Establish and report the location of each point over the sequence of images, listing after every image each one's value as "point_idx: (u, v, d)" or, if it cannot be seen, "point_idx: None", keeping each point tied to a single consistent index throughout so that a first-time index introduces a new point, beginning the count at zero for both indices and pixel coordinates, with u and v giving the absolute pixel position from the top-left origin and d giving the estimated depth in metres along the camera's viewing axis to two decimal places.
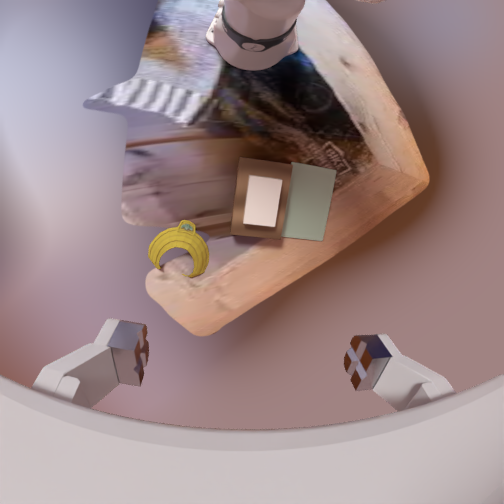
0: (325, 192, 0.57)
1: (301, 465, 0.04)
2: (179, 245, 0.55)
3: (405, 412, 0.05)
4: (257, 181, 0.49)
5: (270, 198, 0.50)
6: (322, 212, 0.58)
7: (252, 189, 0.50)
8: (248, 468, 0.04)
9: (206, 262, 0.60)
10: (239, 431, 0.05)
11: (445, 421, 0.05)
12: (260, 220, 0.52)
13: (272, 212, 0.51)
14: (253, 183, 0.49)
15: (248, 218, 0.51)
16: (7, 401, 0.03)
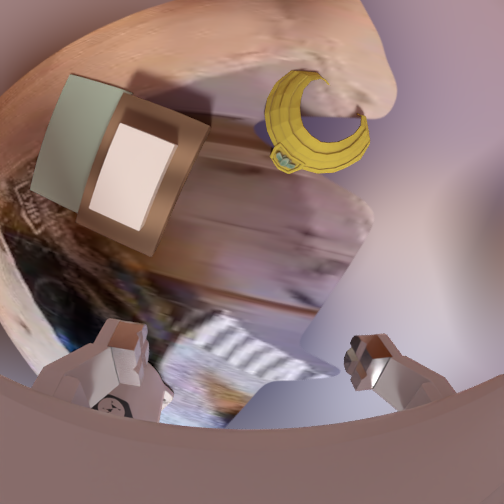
0: (47, 156, 0.26)
1: (301, 465, 0.04)
2: (312, 140, 0.27)
3: (405, 412, 0.05)
4: (128, 217, 0.25)
5: (113, 180, 0.23)
6: (57, 124, 0.25)
7: (139, 205, 0.25)
8: (248, 468, 0.04)
9: (278, 85, 0.27)
10: (239, 431, 0.05)
11: (445, 421, 0.05)
12: (141, 141, 0.23)
13: (116, 152, 0.23)
14: (135, 215, 0.25)
15: (162, 151, 0.23)
16: (7, 401, 0.03)
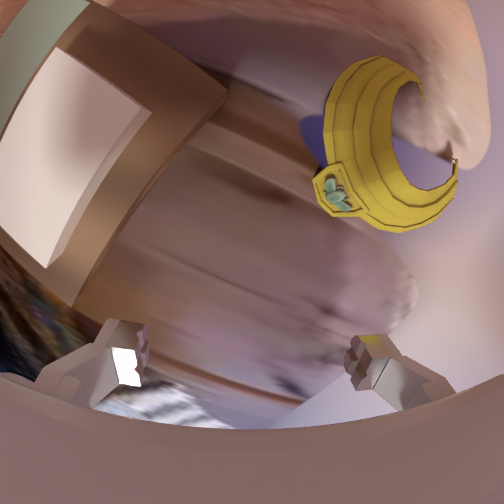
0: None
1: (301, 465, 0.04)
2: (397, 176, 0.14)
3: (405, 412, 0.05)
4: (30, 238, 0.10)
5: (16, 159, 0.09)
6: (1, 51, 0.09)
7: (50, 221, 0.10)
8: (248, 468, 0.04)
9: (358, 68, 0.14)
10: (239, 431, 0.05)
11: (445, 421, 0.05)
12: (78, 89, 0.08)
13: (32, 104, 0.08)
14: (42, 239, 0.10)
15: (111, 118, 0.09)
16: (7, 401, 0.03)
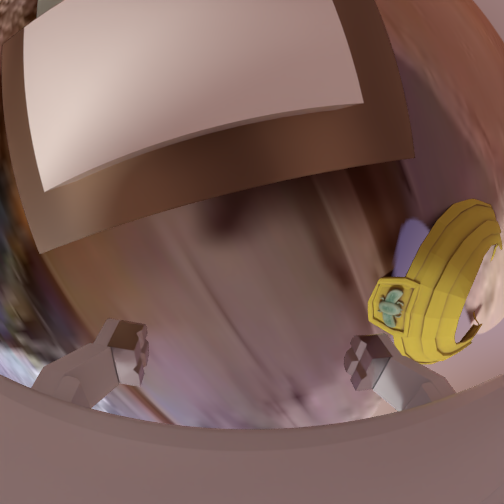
0: None
1: (301, 465, 0.04)
2: (451, 323, 0.13)
3: (405, 412, 0.05)
4: (53, 130, 0.05)
5: (128, 5, 0.04)
6: None
7: (104, 130, 0.06)
8: (248, 468, 0.04)
9: (473, 206, 0.14)
10: (239, 431, 0.05)
11: (445, 421, 0.05)
12: (301, 3, 0.05)
13: None
14: (70, 145, 0.06)
15: (319, 75, 0.06)
16: (7, 401, 0.03)
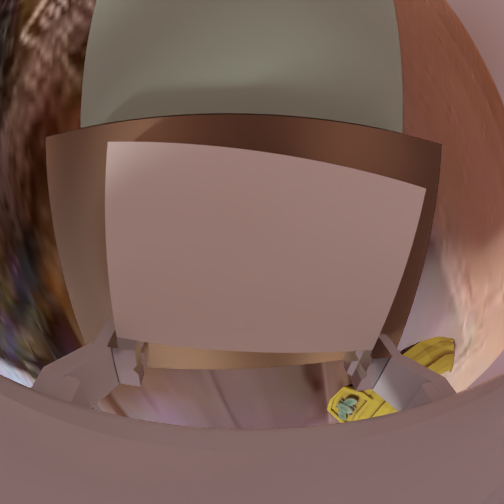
0: None
1: (301, 465, 0.04)
2: None
3: (405, 412, 0.05)
4: (137, 302, 0.08)
5: (244, 217, 0.07)
6: None
7: (189, 327, 0.08)
8: (248, 468, 0.04)
9: (437, 343, 0.18)
10: (239, 431, 0.05)
11: (445, 421, 0.05)
12: (380, 273, 0.08)
13: (345, 200, 0.07)
14: (153, 322, 0.08)
15: (355, 333, 0.09)
16: (7, 401, 0.03)
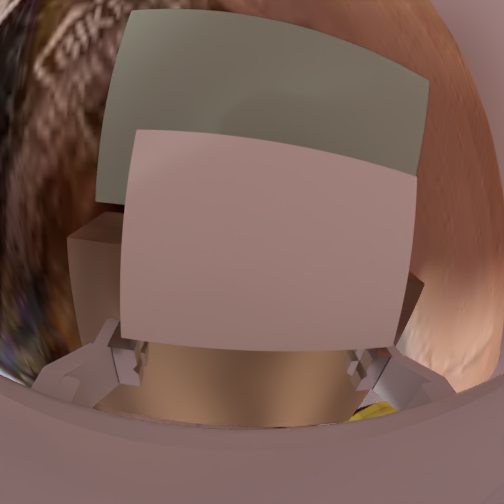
0: (230, 40, 0.10)
1: (301, 465, 0.04)
2: None
3: (405, 412, 0.05)
4: (149, 292, 0.07)
5: (261, 199, 0.07)
6: (322, 58, 0.10)
7: (203, 321, 0.08)
8: (248, 468, 0.04)
9: None
10: (239, 431, 0.05)
11: (445, 421, 0.05)
12: (389, 258, 0.08)
13: (349, 186, 0.08)
14: (164, 316, 0.07)
15: (374, 326, 0.08)
16: (7, 401, 0.03)
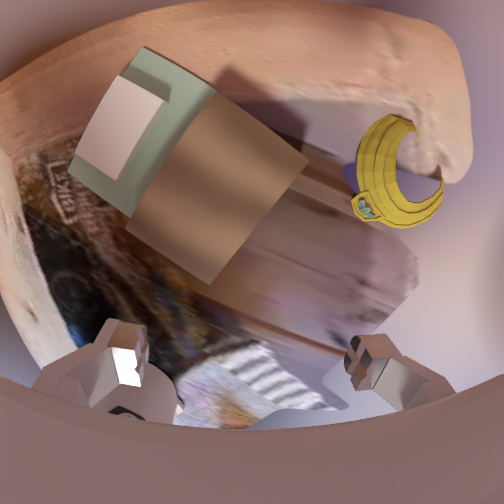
0: None
1: (301, 465, 0.04)
2: (400, 197, 0.25)
3: (405, 412, 0.05)
4: None
5: None
6: None
7: None
8: (248, 468, 0.04)
9: (376, 127, 0.25)
10: (239, 431, 0.05)
11: (445, 421, 0.05)
12: None
13: None
14: None
15: None
16: (7, 401, 0.03)
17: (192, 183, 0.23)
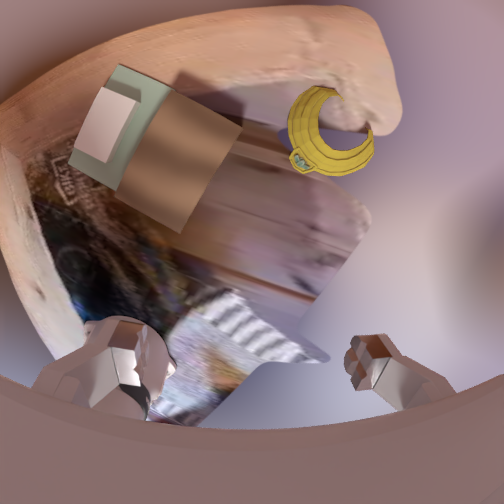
0: None
1: (301, 465, 0.04)
2: (325, 147, 0.32)
3: (405, 412, 0.05)
4: None
5: None
6: None
7: None
8: (248, 468, 0.04)
9: (301, 97, 0.32)
10: (239, 431, 0.05)
11: (445, 421, 0.05)
12: None
13: None
14: None
15: None
16: (7, 401, 0.03)
17: (159, 156, 0.30)
